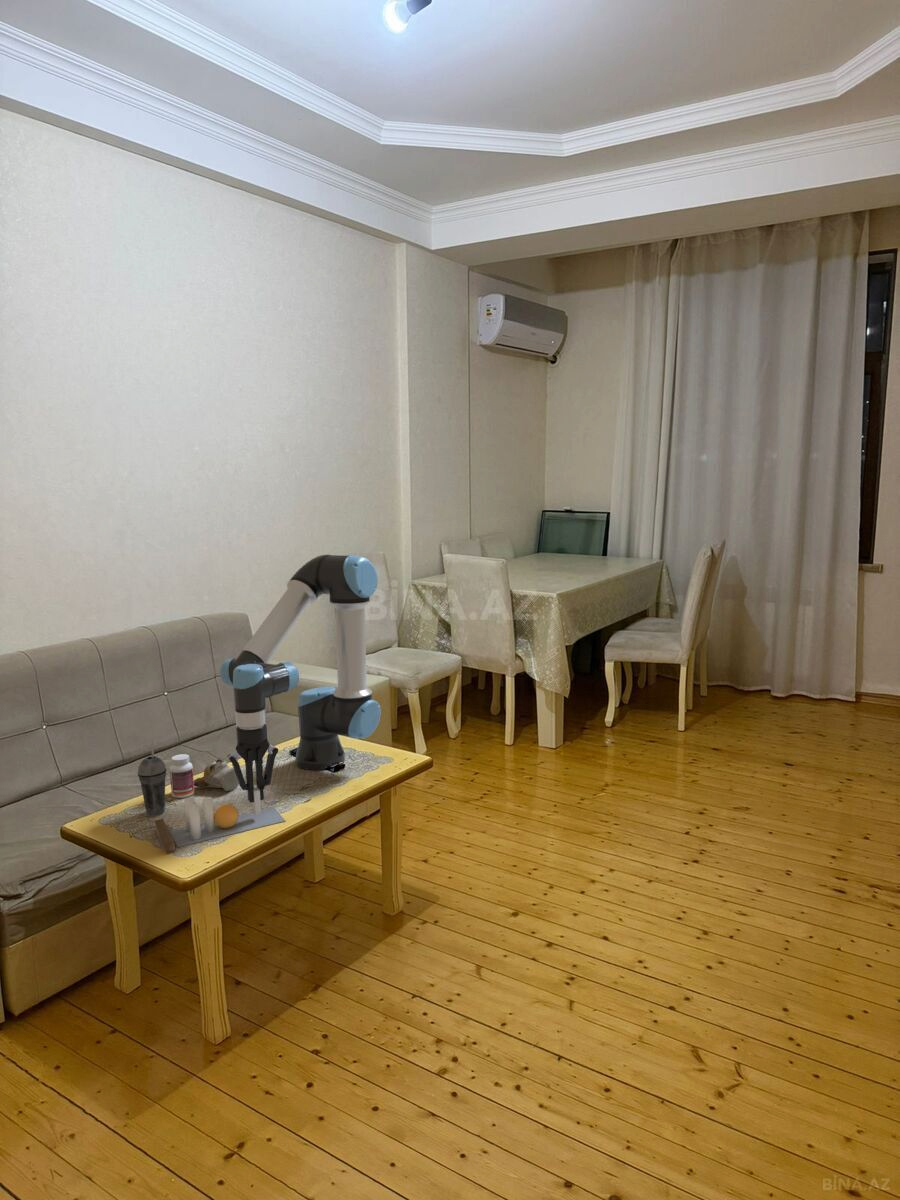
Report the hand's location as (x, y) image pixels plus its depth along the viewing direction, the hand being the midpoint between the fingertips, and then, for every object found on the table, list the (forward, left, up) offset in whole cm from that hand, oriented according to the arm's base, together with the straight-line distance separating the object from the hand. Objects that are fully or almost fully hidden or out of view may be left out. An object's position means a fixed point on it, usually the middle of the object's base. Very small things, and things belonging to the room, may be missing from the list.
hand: (256, 812), depth 207 cm
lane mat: (+8, 0, -2) cm, 8 cm away
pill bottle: (+13, -28, -2) cm, 31 cm away
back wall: (+23, 0, -2) cm, 23 cm away
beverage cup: (+22, -19, -2) cm, 29 cm away
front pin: (+12, 0, -2) cm, 12 cm away
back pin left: (+16, +2, -2) cm, 16 cm away
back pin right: (+16, -3, -2) cm, 16 cm away
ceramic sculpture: (+3, -28, -2) cm, 28 cm away
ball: (+8, 0, +1) cm, 8 cm away
